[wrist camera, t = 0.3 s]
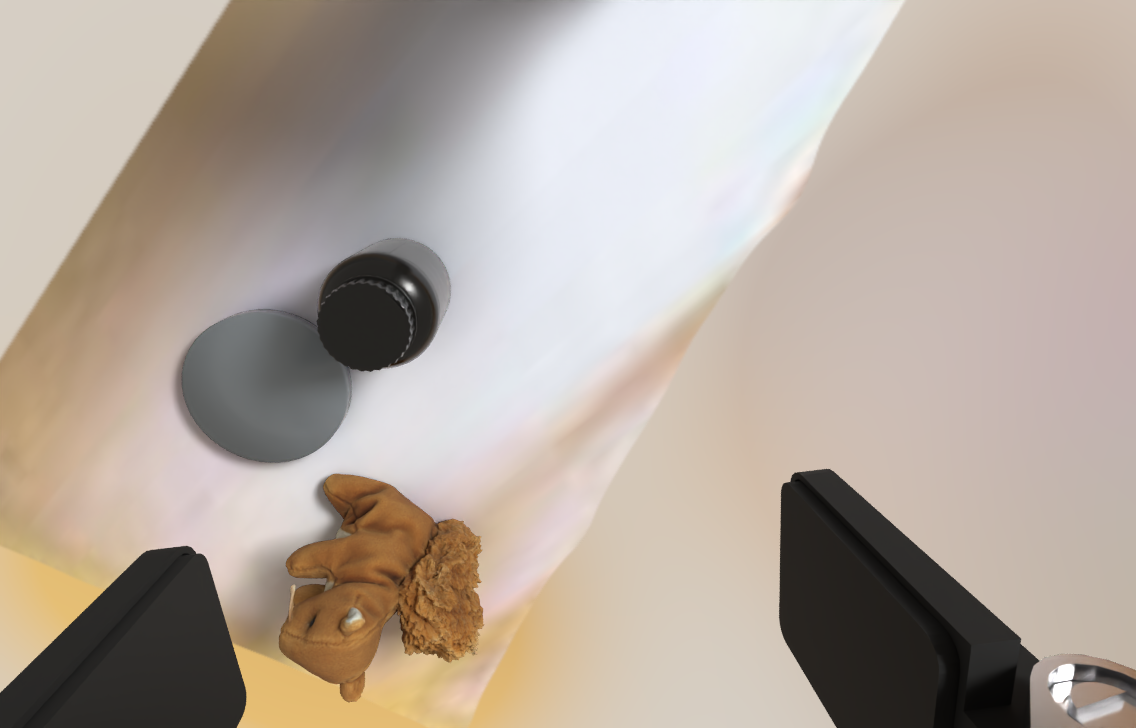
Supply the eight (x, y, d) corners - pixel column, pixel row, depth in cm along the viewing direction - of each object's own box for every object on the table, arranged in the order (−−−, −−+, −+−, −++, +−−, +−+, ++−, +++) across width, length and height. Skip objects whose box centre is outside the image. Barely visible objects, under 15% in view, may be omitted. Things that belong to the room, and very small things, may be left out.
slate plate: (197, 294, 41) (185, 298, 40) (361, 326, 43) (355, 332, 42) (188, 439, 44) (177, 448, 43) (342, 464, 46) (336, 474, 45)
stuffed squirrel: (321, 466, 46) (247, 576, 33) (504, 496, 48) (499, 610, 35) (307, 576, 49) (234, 716, 36) (481, 601, 51) (469, 741, 38)
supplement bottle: (369, 342, 43) (315, 402, 32) (341, 247, 41) (272, 275, 30) (463, 323, 43) (443, 376, 32) (440, 227, 41) (409, 248, 30)
